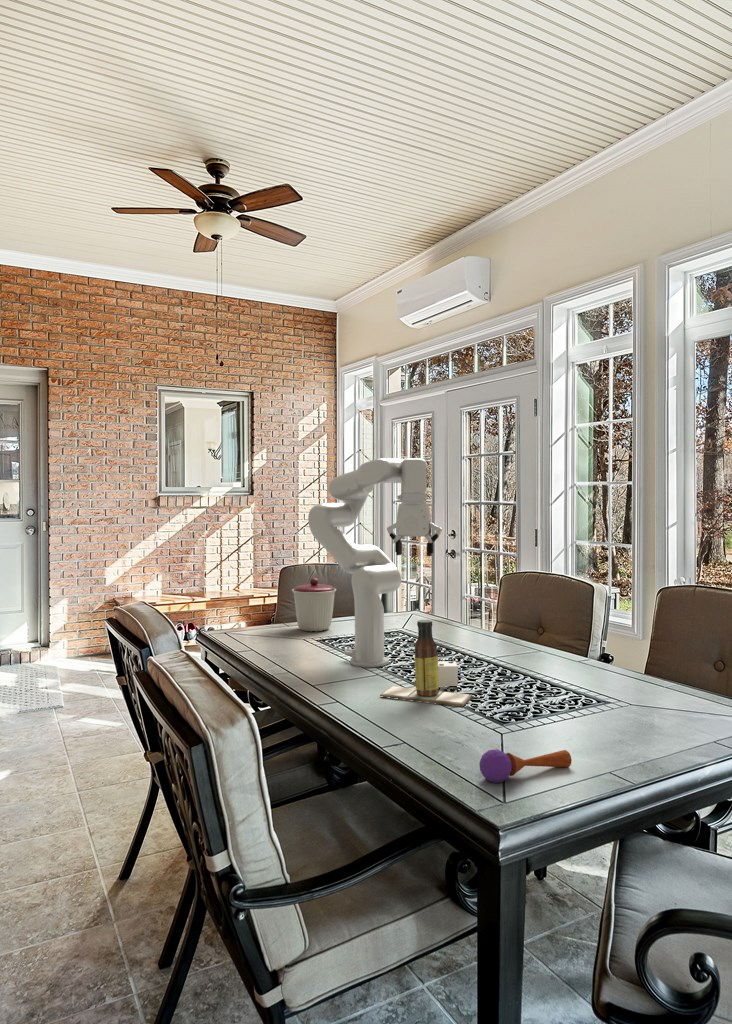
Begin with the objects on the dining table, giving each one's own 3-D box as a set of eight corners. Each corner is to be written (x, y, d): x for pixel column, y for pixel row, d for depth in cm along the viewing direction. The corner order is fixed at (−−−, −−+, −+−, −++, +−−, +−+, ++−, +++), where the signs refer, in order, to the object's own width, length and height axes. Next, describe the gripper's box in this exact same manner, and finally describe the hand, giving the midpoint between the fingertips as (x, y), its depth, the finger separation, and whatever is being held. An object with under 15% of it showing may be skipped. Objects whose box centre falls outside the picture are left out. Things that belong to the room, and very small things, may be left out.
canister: (318, 635, 270) (318, 581, 269) (283, 630, 280) (282, 578, 279) (345, 628, 285) (344, 577, 285) (310, 623, 295) (310, 574, 294)
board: (379, 697, 187) (379, 694, 187) (391, 688, 195) (391, 685, 195) (463, 706, 178) (463, 703, 178) (471, 697, 186) (471, 694, 186)
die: (436, 687, 197) (436, 665, 197) (435, 681, 203) (435, 660, 203) (457, 687, 197) (457, 665, 196) (455, 681, 203) (455, 660, 202)
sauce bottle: (441, 692, 188) (441, 619, 188) (435, 698, 182) (435, 623, 182) (418, 689, 190) (417, 618, 190) (411, 696, 185) (411, 622, 184)
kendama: (578, 752, 136) (493, 761, 128) (572, 780, 137) (488, 790, 129) (559, 737, 141) (476, 744, 133) (553, 764, 142) (471, 772, 134)
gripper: (382, 499, 209) (383, 555, 210) (438, 499, 203) (438, 557, 203) (391, 499, 216) (391, 553, 217) (445, 499, 210) (445, 555, 210)
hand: (414, 555), depth 210 cm, fingers open, 9 cm apart
